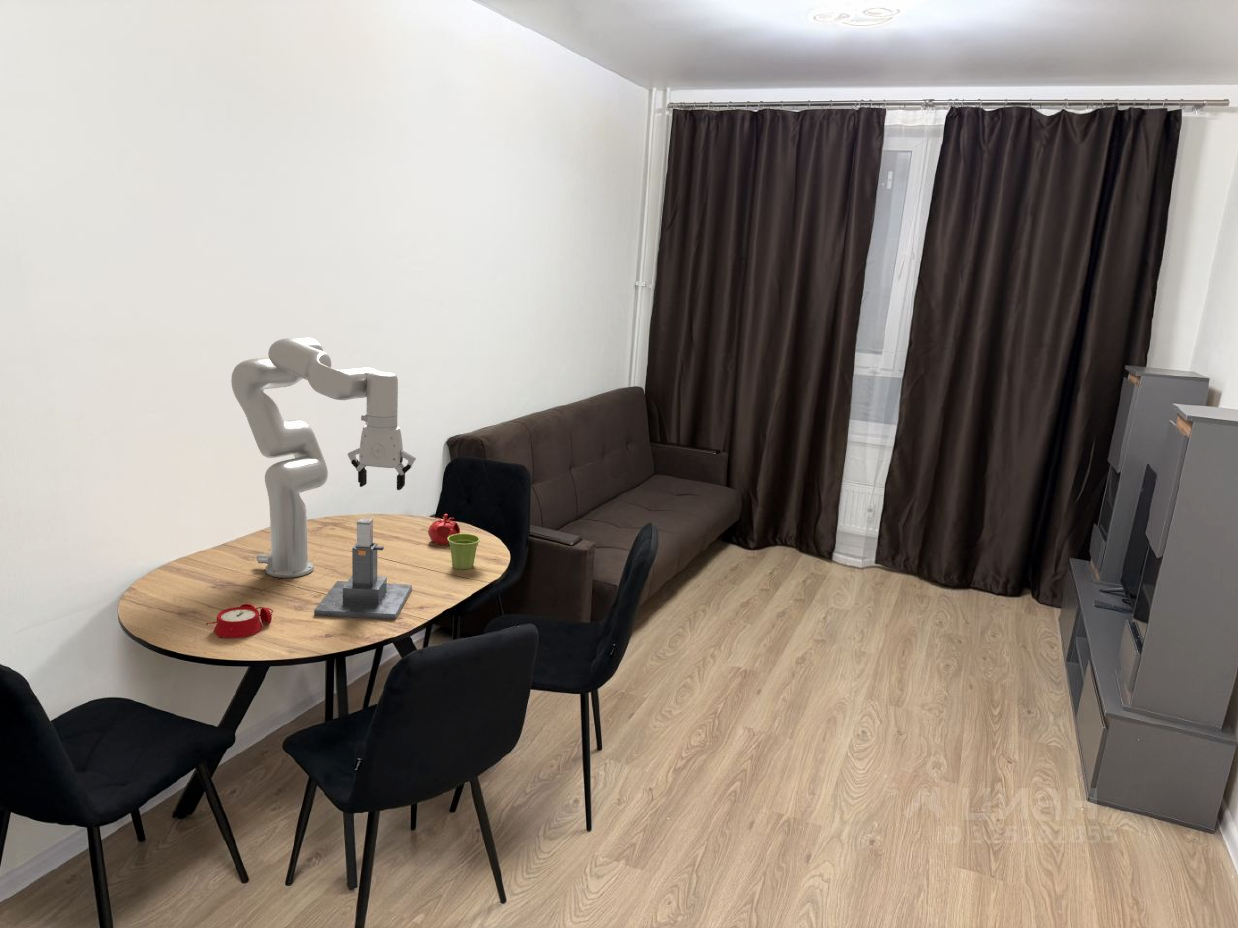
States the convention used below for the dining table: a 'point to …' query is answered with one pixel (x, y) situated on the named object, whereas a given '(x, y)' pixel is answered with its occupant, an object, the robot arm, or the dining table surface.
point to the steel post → (364, 533)
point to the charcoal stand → (364, 591)
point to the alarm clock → (241, 621)
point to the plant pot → (463, 550)
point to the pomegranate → (443, 530)
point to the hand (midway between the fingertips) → (381, 487)
